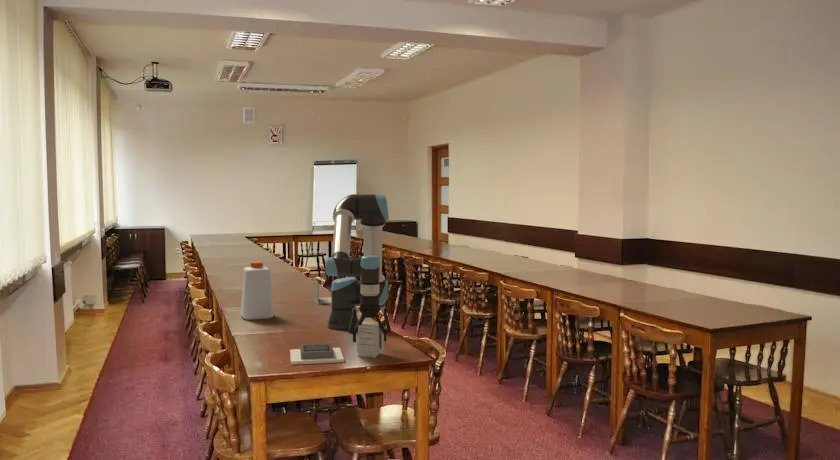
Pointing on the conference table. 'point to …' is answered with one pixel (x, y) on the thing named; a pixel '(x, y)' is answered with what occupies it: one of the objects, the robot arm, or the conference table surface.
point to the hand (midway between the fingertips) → (369, 349)
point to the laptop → (316, 294)
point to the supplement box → (369, 339)
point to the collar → (316, 351)
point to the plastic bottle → (256, 292)
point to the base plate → (297, 358)
